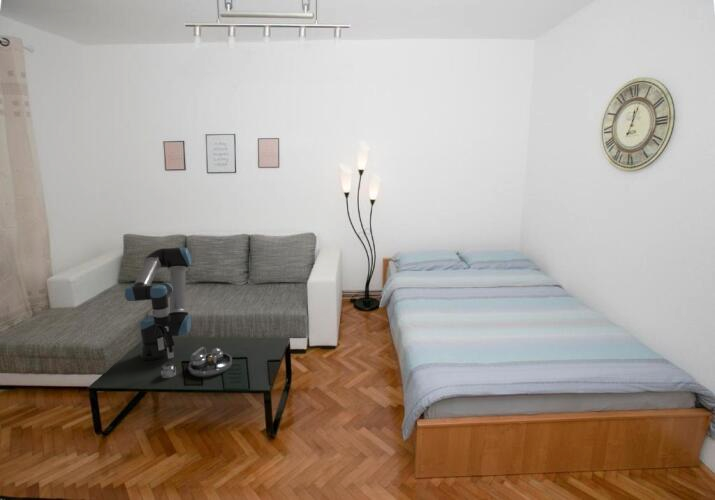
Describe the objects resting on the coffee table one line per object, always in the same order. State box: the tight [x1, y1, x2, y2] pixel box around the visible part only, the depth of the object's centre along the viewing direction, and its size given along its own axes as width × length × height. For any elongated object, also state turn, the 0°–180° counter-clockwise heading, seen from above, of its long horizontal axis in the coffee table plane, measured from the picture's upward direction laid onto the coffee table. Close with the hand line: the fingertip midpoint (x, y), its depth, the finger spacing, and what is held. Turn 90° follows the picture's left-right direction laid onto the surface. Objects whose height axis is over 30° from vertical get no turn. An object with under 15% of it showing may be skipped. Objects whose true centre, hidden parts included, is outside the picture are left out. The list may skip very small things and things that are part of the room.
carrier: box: [188, 347, 233, 378], centre depth 216 cm, size 22×22×8 cm
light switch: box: [190, 346, 207, 367], centre depth 220 cm, size 2×12×8 cm, turn 168°
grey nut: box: [160, 361, 177, 379], centre depth 209 cm, size 7×7×6 cm
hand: (166, 353), depth 206 cm, fingers open, 13 cm apart
